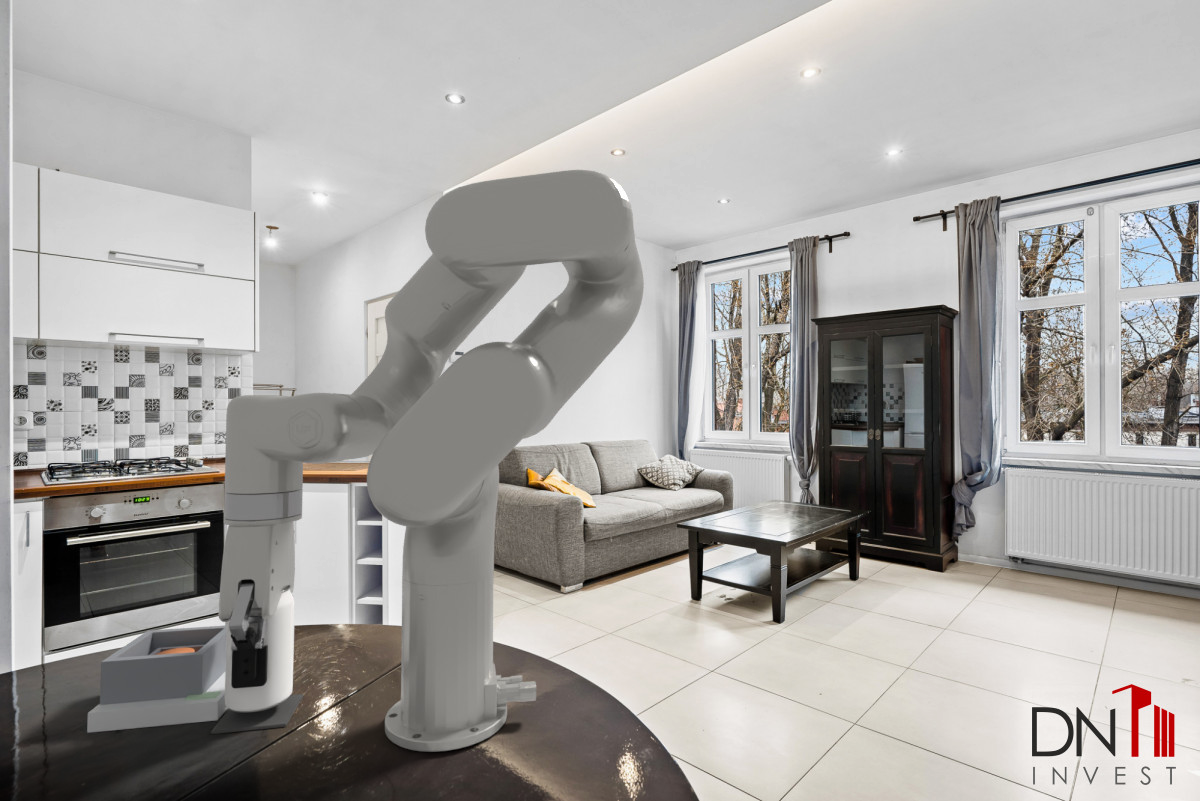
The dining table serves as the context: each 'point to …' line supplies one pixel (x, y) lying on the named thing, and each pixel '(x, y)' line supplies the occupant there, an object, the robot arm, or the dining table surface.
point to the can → (277, 664)
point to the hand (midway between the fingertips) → (260, 670)
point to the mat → (259, 717)
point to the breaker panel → (163, 680)
